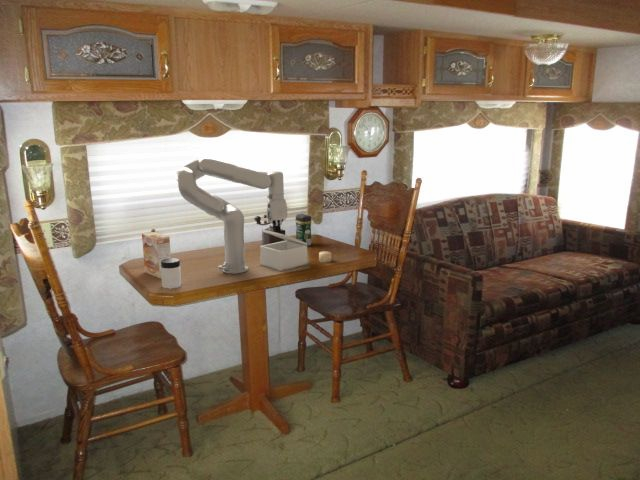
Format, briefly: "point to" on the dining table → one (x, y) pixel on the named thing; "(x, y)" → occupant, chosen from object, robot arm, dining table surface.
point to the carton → (283, 255)
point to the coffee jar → (303, 228)
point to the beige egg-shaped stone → (324, 256)
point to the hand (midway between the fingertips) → (277, 232)
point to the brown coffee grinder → (268, 237)
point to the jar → (171, 273)
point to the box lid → (285, 237)
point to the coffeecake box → (155, 252)
